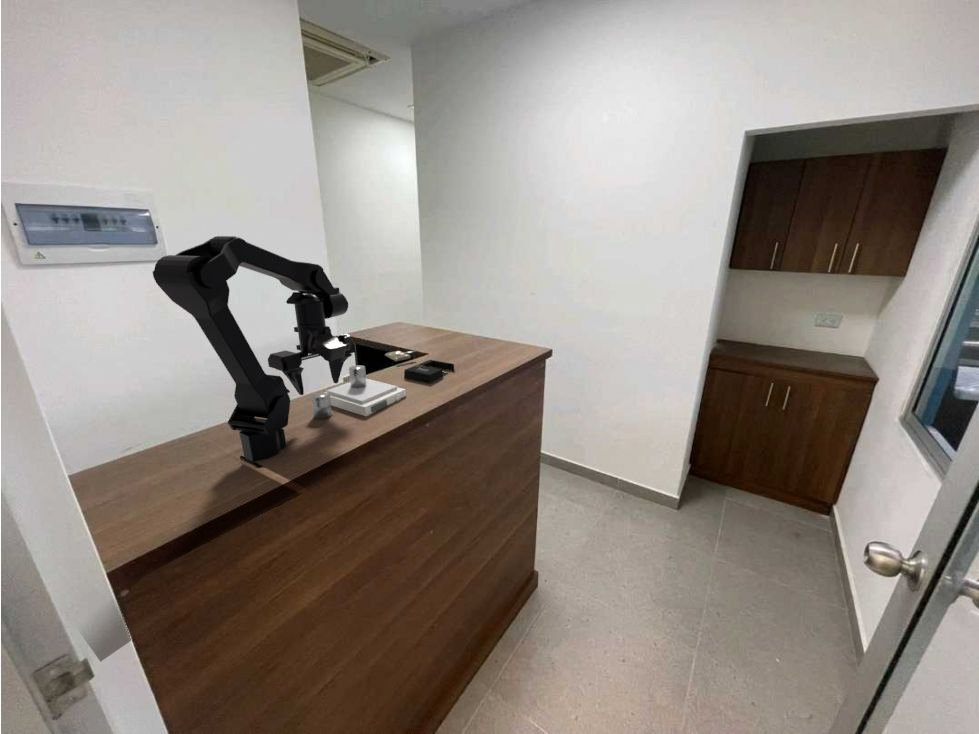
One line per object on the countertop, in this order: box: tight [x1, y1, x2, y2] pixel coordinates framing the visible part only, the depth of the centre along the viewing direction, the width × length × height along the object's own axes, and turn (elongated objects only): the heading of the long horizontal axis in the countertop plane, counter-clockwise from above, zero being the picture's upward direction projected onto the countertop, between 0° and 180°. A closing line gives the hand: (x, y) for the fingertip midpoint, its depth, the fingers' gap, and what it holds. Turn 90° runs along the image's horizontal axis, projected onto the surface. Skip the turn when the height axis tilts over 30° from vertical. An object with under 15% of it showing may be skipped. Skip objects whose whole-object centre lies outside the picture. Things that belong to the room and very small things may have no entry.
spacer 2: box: [348, 365, 367, 388], centre depth 101 cm, size 4×4×5 cm
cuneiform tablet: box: [384, 350, 417, 362], centre depth 133 cm, size 7×4×12 cm
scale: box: [323, 377, 407, 417], centre depth 100 cm, size 14×16×3 cm
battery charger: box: [403, 359, 455, 384], centre depth 118 cm, size 13×10×4 cm
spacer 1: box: [310, 392, 333, 420], centre depth 90 cm, size 4×4×5 cm
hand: (319, 388), depth 89 cm, fingers open, 9 cm apart
